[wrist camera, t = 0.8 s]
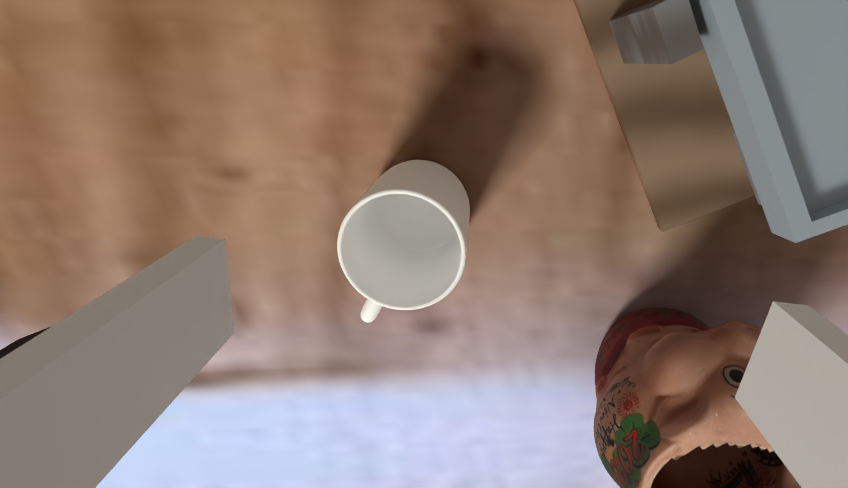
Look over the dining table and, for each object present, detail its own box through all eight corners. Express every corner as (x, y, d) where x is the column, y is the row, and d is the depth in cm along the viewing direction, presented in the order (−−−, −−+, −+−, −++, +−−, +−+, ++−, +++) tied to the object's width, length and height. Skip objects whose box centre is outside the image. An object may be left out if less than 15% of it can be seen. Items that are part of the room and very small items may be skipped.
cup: (488, 186, 38) (489, 227, 29) (424, 301, 43) (407, 370, 33) (396, 139, 38) (366, 165, 28) (341, 261, 42) (299, 318, 33)
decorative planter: (677, 465, 46) (753, 624, 33) (551, 441, 46) (577, 587, 34) (761, 282, 38) (902, 394, 25) (609, 256, 39) (671, 352, 26)
